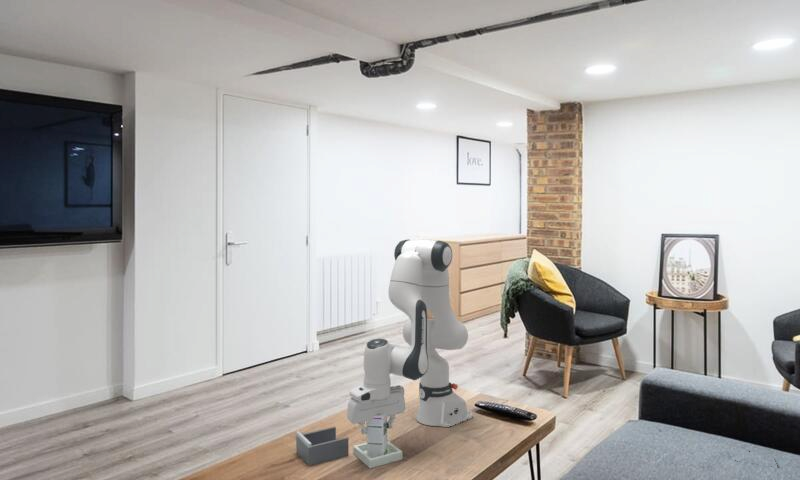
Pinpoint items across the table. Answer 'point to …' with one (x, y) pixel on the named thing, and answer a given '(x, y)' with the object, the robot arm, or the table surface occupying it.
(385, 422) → the syrup box
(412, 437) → the table surface
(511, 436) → the table surface
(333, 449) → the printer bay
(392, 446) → the tray
